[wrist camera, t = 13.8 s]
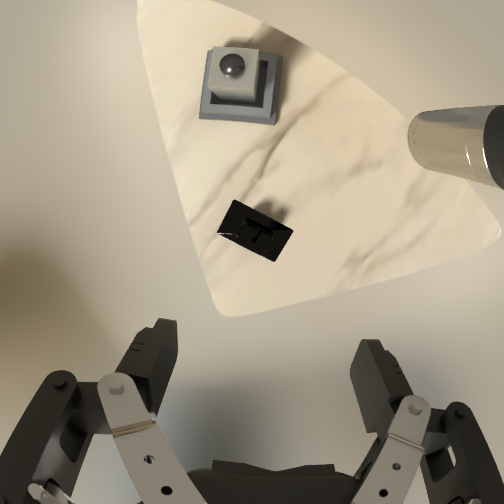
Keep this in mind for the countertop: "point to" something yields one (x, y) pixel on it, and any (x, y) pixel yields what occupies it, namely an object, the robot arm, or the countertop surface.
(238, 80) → the knobbed grey block
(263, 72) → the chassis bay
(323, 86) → the countertop surface
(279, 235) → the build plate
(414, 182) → the countertop surface
